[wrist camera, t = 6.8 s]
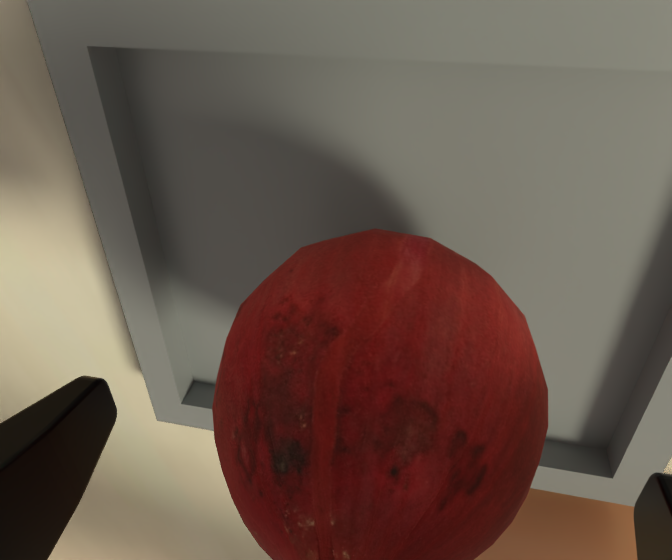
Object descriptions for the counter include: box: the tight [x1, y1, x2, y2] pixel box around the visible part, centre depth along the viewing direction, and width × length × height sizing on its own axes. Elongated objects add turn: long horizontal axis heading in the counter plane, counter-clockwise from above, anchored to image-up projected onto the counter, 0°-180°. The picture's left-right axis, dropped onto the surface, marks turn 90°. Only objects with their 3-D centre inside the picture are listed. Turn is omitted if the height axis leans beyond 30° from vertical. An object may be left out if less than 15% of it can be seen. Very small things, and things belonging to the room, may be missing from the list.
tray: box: [27, 0, 672, 507], centre depth 13 cm, size 14×12×2 cm
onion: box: [212, 228, 548, 560], centre depth 10 cm, size 6×6×8 cm
